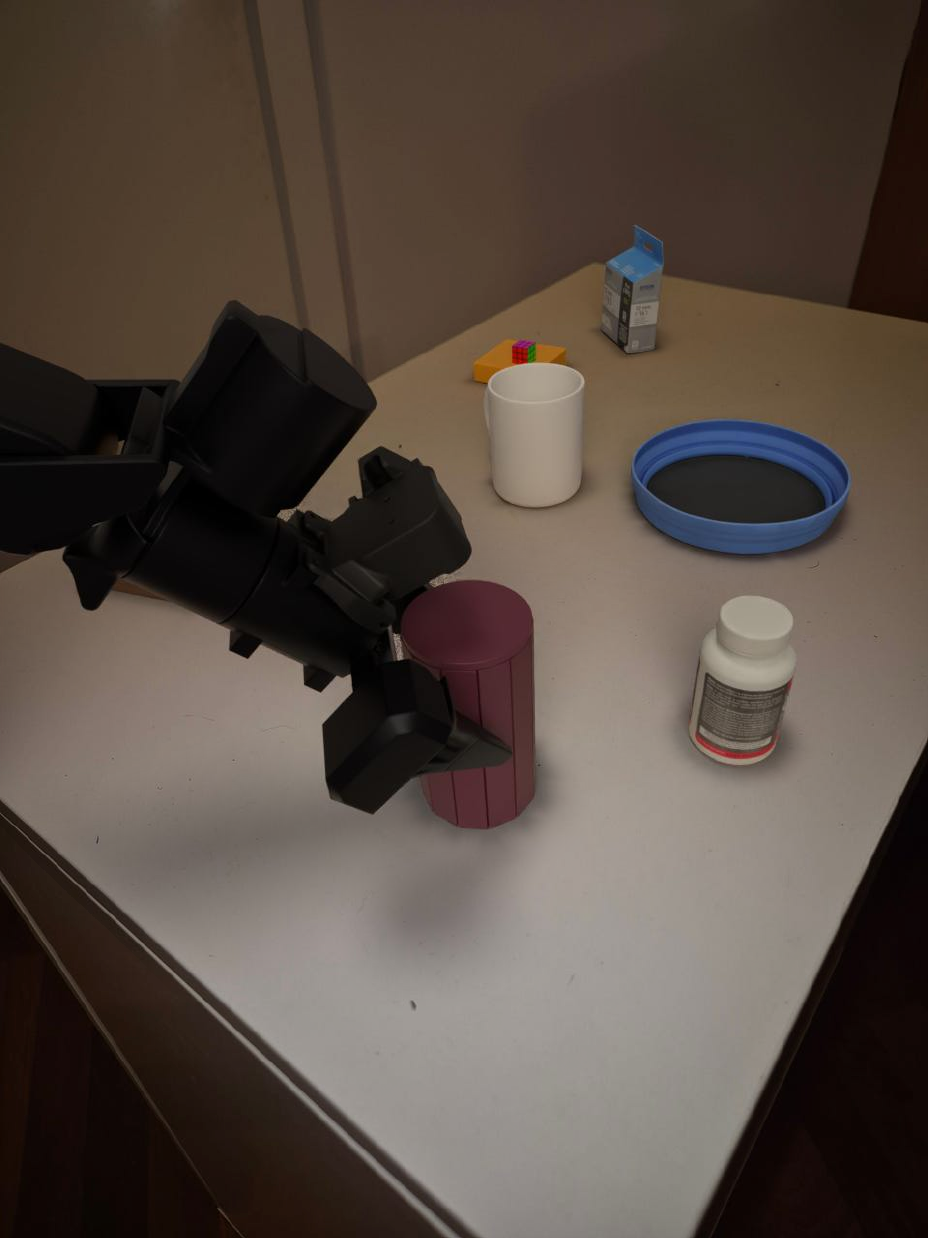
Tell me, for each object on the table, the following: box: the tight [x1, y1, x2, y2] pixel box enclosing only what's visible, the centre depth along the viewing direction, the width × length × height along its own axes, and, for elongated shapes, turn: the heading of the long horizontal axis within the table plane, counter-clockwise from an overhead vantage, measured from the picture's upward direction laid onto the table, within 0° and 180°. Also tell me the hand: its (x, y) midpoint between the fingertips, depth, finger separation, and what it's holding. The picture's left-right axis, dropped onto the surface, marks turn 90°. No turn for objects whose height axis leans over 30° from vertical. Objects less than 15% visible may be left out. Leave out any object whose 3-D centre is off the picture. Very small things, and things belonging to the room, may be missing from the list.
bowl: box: [630, 418, 852, 555], centre depth 72 cm, size 18×18×4 cm
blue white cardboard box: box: [600, 224, 665, 354], centre depth 100 cm, size 9×4×12 cm, turn 14°
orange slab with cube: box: [472, 338, 567, 384], centre depth 96 cm, size 8×8×4 cm
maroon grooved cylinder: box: [399, 579, 537, 830], centre depth 47 cm, size 7×7×13 cm
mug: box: [482, 363, 586, 509], centre depth 76 cm, size 12×8×10 cm
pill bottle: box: [688, 594, 798, 766], centre depth 50 cm, size 5×5×10 cm
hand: (489, 696), depth 47 cm, fingers open, 9 cm apart
